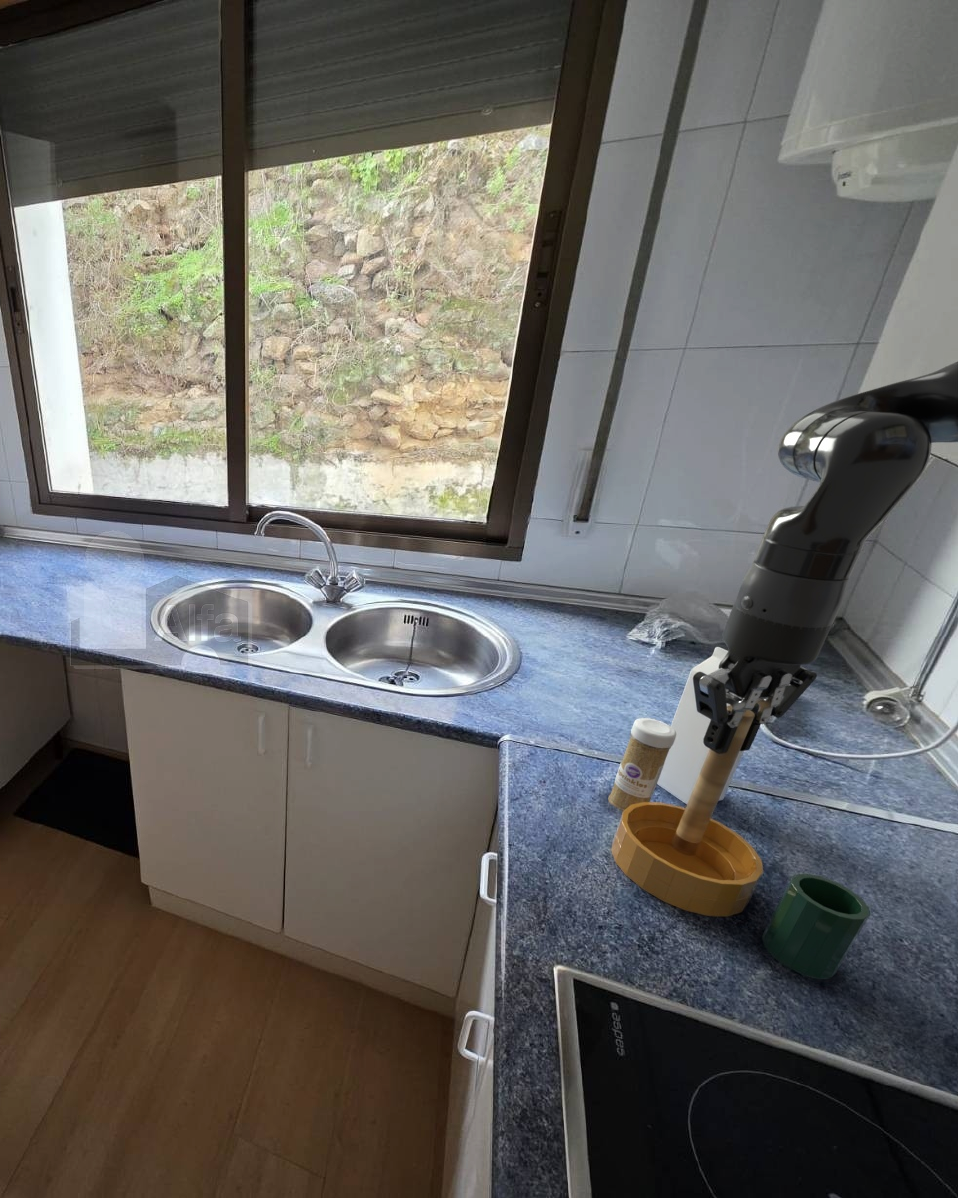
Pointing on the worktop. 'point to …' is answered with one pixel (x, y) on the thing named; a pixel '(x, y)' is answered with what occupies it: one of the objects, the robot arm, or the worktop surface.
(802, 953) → the utensil pot
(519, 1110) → the worktop surface
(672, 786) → the milk
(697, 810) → the stick
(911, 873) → the worktop surface
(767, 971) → the worktop surface
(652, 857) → the bowl
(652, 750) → the sprinkles bottle
